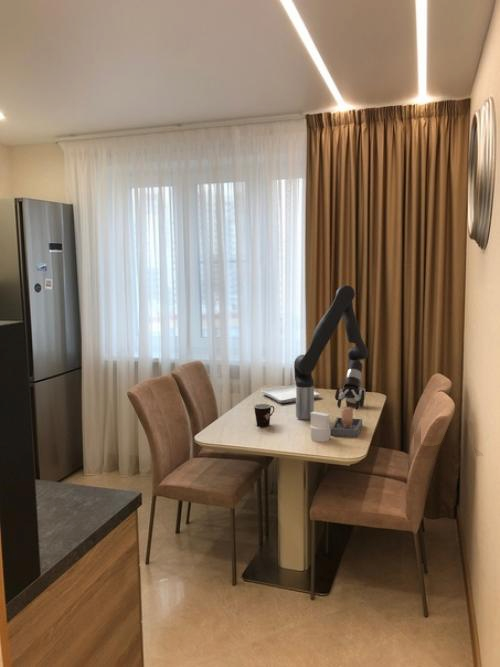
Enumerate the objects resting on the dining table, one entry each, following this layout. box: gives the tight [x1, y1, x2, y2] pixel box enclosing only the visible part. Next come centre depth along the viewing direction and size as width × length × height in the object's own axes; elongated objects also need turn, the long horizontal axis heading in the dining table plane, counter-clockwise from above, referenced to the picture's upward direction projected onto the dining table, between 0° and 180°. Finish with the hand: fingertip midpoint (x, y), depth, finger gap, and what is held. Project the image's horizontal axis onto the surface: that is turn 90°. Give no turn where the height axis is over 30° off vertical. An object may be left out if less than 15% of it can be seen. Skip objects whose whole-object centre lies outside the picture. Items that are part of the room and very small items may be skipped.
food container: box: [345, 387, 367, 408], centre depth 309 cm, size 12×6×10 cm, turn 84°
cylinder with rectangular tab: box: [309, 411, 331, 443], centre depth 256 cm, size 9×9×12 cm
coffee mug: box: [253, 403, 275, 428], centre depth 279 cm, size 12×9×10 cm
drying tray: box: [330, 416, 363, 438], centre depth 266 cm, size 18×13×5 cm
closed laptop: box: [260, 384, 321, 404], centre depth 333 cm, size 27×27×4 cm
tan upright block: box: [340, 406, 354, 429], centre depth 266 cm, size 5×5×10 cm
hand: (347, 408), depth 268 cm, fingers open, 8 cm apart
